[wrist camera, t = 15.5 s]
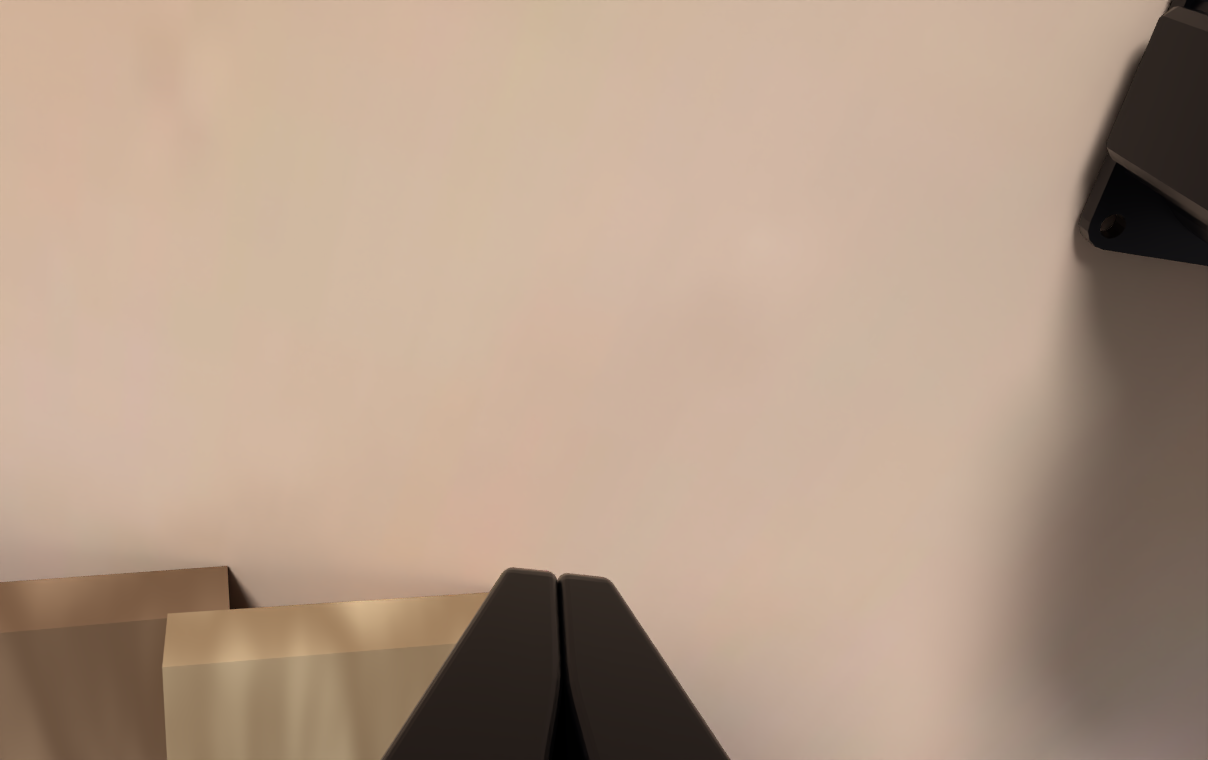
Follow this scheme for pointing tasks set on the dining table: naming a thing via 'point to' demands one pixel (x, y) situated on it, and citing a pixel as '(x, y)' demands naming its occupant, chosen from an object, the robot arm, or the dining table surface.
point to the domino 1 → (92, 661)
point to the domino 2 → (304, 676)
